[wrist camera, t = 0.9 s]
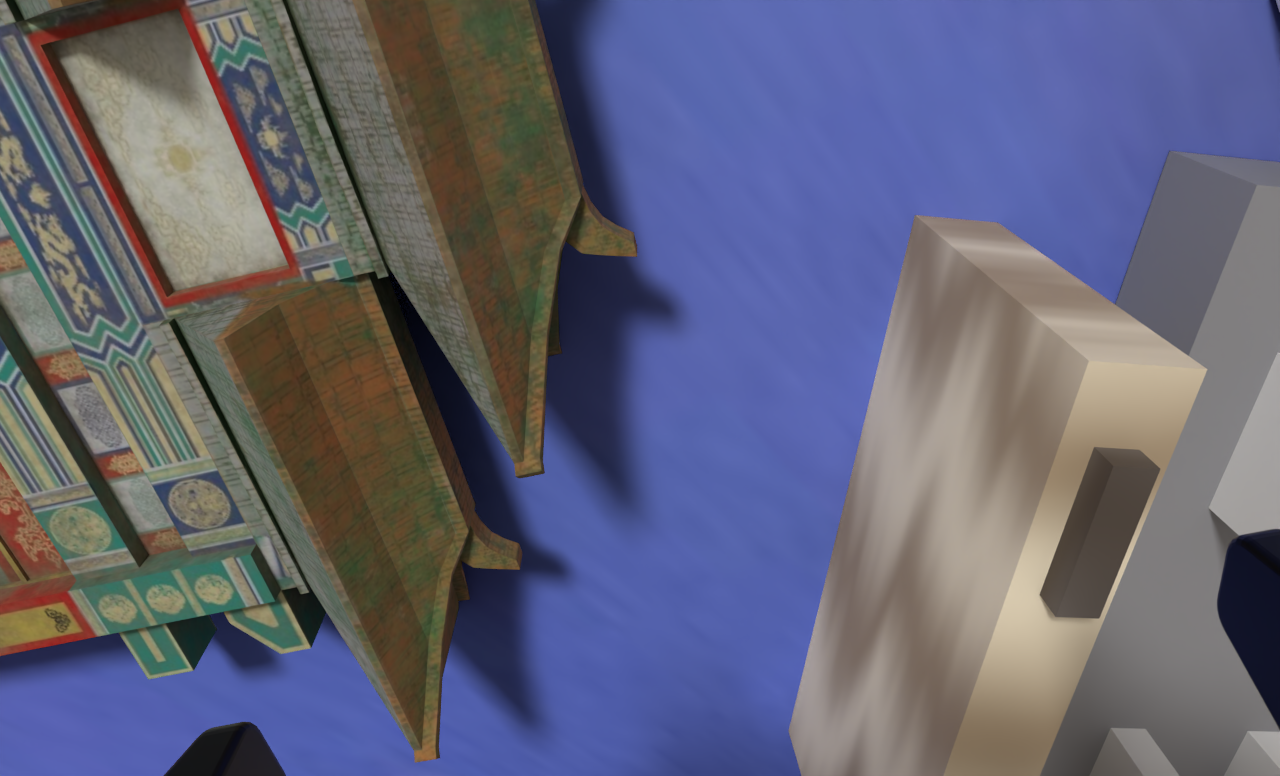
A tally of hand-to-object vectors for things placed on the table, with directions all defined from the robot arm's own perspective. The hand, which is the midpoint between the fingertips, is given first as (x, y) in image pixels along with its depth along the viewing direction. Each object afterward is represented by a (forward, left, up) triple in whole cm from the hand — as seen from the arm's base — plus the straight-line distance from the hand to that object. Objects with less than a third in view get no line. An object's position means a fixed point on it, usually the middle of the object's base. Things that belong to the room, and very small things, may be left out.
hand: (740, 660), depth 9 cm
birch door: (-7, -8, -14) cm, 18 cm away
